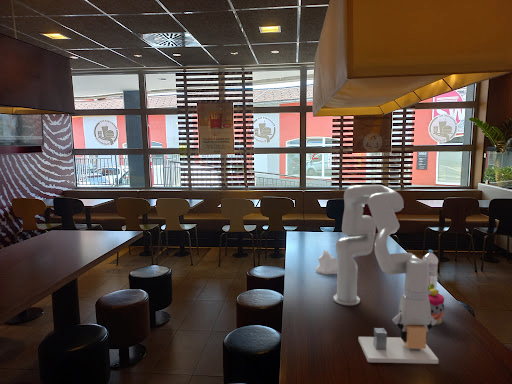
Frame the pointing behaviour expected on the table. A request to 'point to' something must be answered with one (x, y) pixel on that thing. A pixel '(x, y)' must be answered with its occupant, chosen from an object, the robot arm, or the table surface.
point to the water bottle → (432, 267)
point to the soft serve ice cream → (327, 264)
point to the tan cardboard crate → (416, 336)
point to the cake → (436, 304)
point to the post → (380, 339)
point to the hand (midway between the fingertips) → (413, 340)
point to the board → (396, 352)
